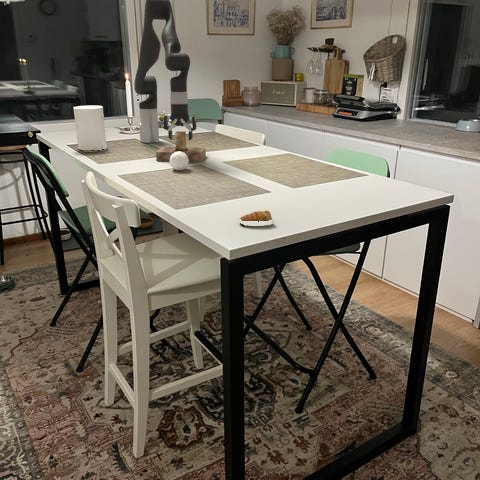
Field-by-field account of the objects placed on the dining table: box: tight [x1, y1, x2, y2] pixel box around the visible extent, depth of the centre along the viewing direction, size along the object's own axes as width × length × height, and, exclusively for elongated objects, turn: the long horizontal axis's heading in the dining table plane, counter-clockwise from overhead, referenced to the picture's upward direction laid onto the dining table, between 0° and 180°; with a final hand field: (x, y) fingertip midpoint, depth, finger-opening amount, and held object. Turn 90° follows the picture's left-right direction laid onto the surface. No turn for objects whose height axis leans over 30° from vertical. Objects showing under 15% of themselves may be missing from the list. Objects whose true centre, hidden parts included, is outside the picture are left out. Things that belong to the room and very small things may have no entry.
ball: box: [169, 151, 190, 171], centre depth 200 cm, size 8×8×8 cm
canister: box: [73, 105, 108, 151], centre depth 239 cm, size 14×14×20 cm
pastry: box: [239, 210, 273, 222], centre depth 141 cm, size 9×7×4 cm
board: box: [155, 146, 207, 163], centre depth 221 cm, size 20×12×4 cm, turn 83°
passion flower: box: [158, 110, 173, 129], centre depth 306 cm, size 11×11×12 cm
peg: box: [174, 130, 187, 151], centre depth 219 cm, size 4×4×12 cm
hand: (180, 139), depth 218 cm, fingers open, 8 cm apart
